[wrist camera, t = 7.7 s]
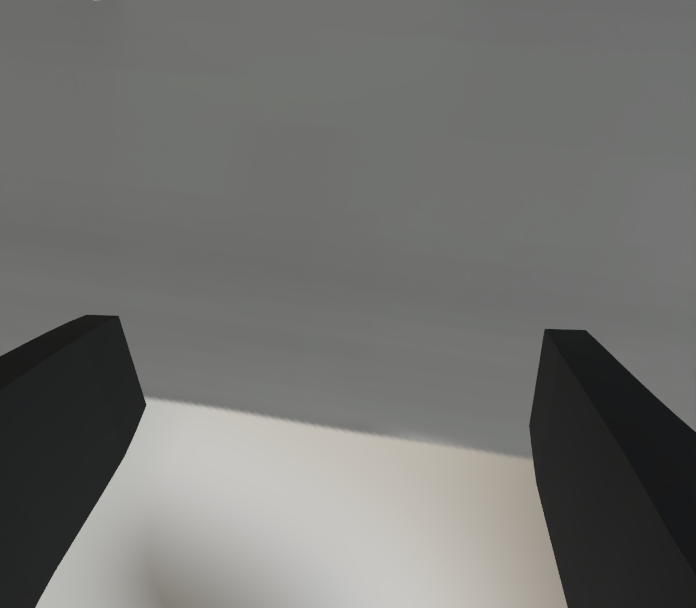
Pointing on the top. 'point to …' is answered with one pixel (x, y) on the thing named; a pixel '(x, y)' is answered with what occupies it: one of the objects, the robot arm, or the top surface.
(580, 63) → the top surface
